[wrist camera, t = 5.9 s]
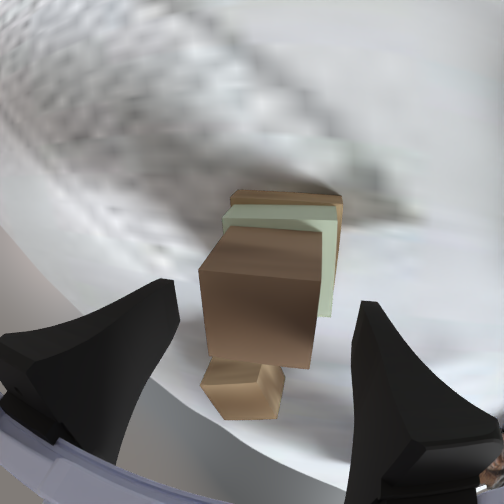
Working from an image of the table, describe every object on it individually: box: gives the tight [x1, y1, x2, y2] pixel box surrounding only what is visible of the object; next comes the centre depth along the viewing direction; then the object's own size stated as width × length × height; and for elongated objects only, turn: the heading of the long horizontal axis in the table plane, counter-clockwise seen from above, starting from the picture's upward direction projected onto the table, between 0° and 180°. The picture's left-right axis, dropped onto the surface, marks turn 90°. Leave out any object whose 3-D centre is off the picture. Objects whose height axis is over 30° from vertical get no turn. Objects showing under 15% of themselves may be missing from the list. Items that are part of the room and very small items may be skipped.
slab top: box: [222, 204, 338, 317], centre depth 15 cm, size 5×5×2 cm
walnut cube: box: [198, 226, 322, 369], centre depth 13 cm, size 4×4×4 cm
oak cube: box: [200, 357, 285, 420], centre depth 21 cm, size 4×4×4 cm
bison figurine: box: [476, 432, 504, 490], centre depth 19 cm, size 12×7×10 cm
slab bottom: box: [230, 190, 343, 290], centre depth 17 cm, size 6×6×2 cm
